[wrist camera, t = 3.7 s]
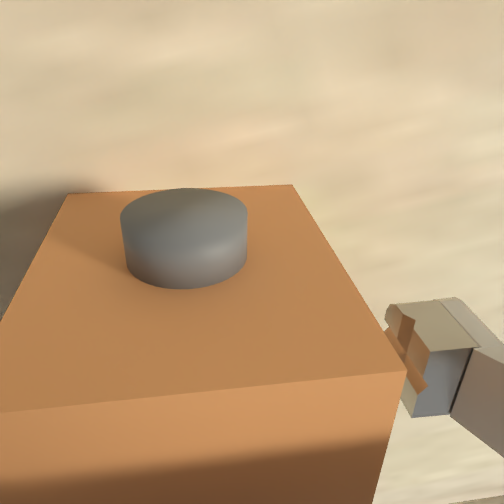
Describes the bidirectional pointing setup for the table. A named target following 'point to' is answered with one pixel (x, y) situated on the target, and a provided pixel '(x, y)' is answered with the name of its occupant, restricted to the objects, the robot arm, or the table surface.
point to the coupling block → (192, 357)
